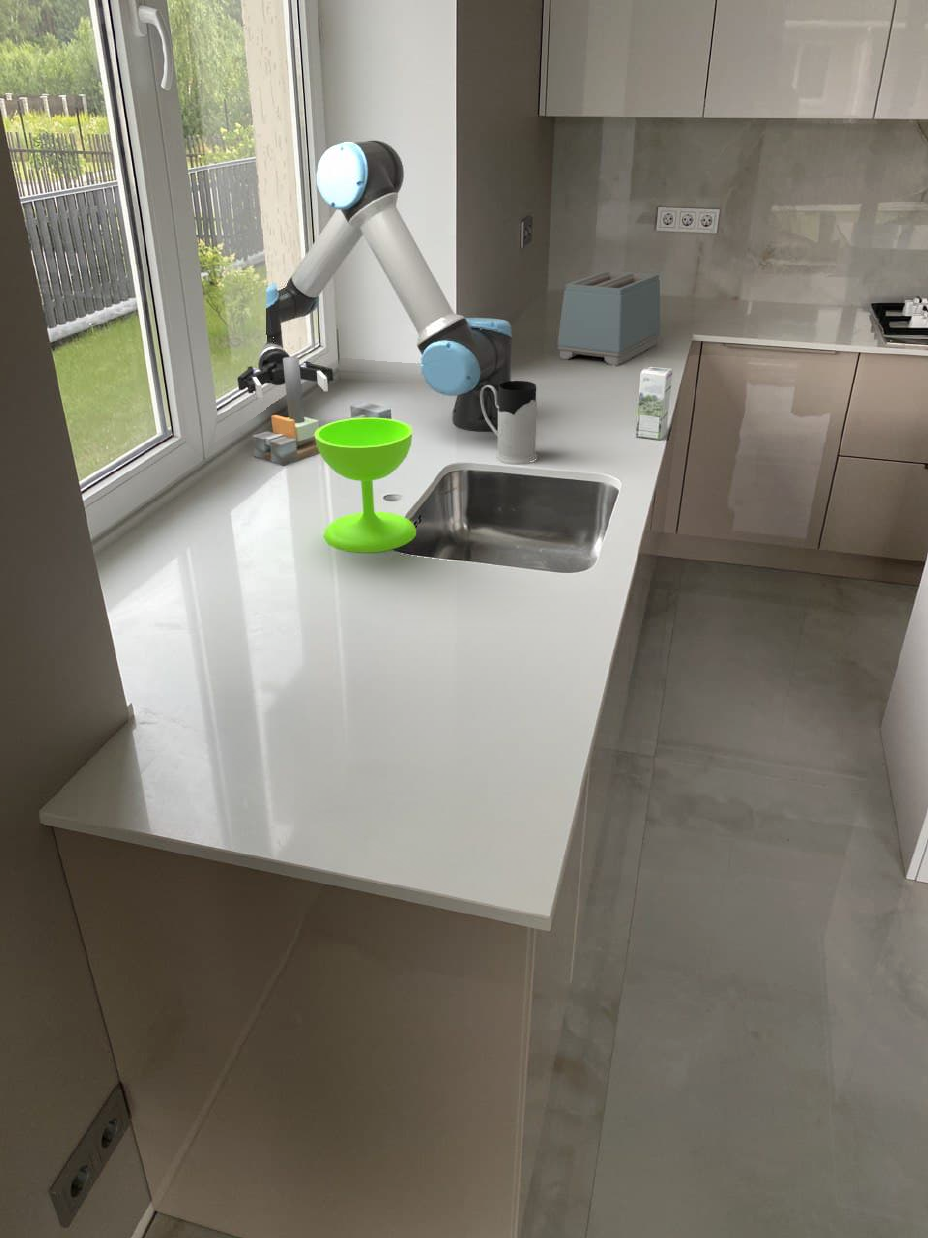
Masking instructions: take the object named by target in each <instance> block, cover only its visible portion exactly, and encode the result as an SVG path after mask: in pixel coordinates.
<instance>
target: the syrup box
mask: <svg viewBox="0 0 928 1238" xmlns="http://www.w3.org/2000/svg"><path fill="white" fill-rule="evenodd" d="M639 376H640V377H639V388H638V390H639V391H638V401H637V415H636V417H637V418H636V427H635V438H639V439H646V440H647V439H648V440H657V441H661V440H663V438H664V437H665V436H666V434H667V432H668V419H669V407H670V400H671V399H670V397H671V387H672V381H673V380H672V377H673V369H672V368H667V367H666V368H664V367H657V366H656V367H655V366H654V367H653V366H646V367H644V368H643V369H642V371H640V375H639Z"/></svg>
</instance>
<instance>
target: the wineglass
mask: <svg viewBox="0 0 928 1238" xmlns="http://www.w3.org/2000/svg"><path fill="white" fill-rule="evenodd" d="M314 435H315V440H316V444H317V448H318V450H319V452H320V453H319V454H320V456H321V457H322V459H323V462H324V463H326V465H328V467H329V468H330V469H331V470H333V471H334V472H335V473H337V474H338V475H341V476H342V477H344V478H345V479H349V480H353V481H357V482H358V481H359V482H360V484H361V500H362V501H361V502H362V511H361V512H355V513H351V514H347V515H344V516H341V517H339V518H337V519H335V520H333V521H331V523H329V524H328V526H326V528H325V529H324V533H323V539H324V541H325V543H326V544H328V545H329V546H331V547H332V548H334V549H338V550H340V551H345V552H351V553H364V554H365V553H367V554H368V553H377V552H378V553H379V552H386V551H390V550H396V549H398V548H400V547H402V546H405V545H407V544H408V543H410V542H411V541H413V540H414V538H415V537H416V536H417V528H416V527H415V525H414V523H413V522H412V521H411V520H409V519H408V518H406V517H405V516H403V515H400V514H397V513H391V512H388V511H387V512H385V511H375V500H374V485H373V482H374V481H375V480H380V479H383V478H385V477H387V476H389V475H390V474H392V473H393V472H394V471H396V470H397V469H398V468H399V467H400V466H401V465H402V463H403V462H404V460H405V459H406V458H407V456H408V454H409V451H410V448H411V446H412V438H413V437H412V436H413V428H412V426H410V425H409V424H407V423H406V422H403V421H401V420H397V419H393V418H391V419H387V418H353V419H350V418H348V419H347V418H346V419H341V420H340V419H339V420H336V421H333V422H329V423H326V424H324V425H322V426H319V429H317V430H316V432H315V434H314Z"/></svg>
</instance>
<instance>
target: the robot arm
mask: <svg viewBox="0 0 928 1238" xmlns="http://www.w3.org/2000/svg"><path fill="white" fill-rule="evenodd" d="M404 179H405V172H404V165H403V161H402V159H401V157H400V156H399V154H398V152H397V151H396V150H395V149H394V148H393V147H392V146H391V145H390V144H389V143H386V142H384V141H379V140H367V141H357V142H355V141H354V142H352V141H345V142H341V143H339V144H335V145H333V146H331V147H329V148H328V149H326V151H325V152H324V153H323V154H322V155H321V157H320V160H319V162H318V165H317V172H316V184H317V188H318V191H319V193H320V196H321V198H322V199H323V201H325V202H326V204H327V205H329V206H330V207H332V208H334V209H336V210H335V212H334V213H332V215H331V216H330V219H329V220H328V222H327V224H326V225H325V226H324V228H323V229H322V230H321V232H320V233H319V235H318V237H316V239H315V241H314V242H313V244H312V245H311V247H310V248H309V249H308V252H306V254H305V256H304V257H303V258H302V260H301V261H300V263H299V265H298V266H297V267H296V268H295V270H294V272H293V273H292V275H291V276H290V278H289V279H288V281H287V282H288V283H287V282H286V283H287V286H286V287H285V288H283V289H281V290H279V291H278V290H277V288H278V287H277V285H276V284H274V283H272V285H270V286H268V287H267V289H266V335H267V343H266V344H265V345H264V346H263V348H262V349H261V351H260V353H259V356H258V369H259V370H258V369H257V367H254V366H248V367H247V369H246V370H245V371H243V373H240V375H239V376H237V379H236V380H237V385H238V390H239V391H243V390H245V389H246V388H247V393H248V394H254V393H255V394H256V396H257V397H258V399H263V398H264V397H263V388H262V386H263V385H265V384H271V385H275V386H280V385H285V375H284V365H283V358H286V357H291V356H290V354H289V353H288V352H287V351H286V350H285V349H284V344H283V334H282V333H283V330H282V324H283V323H286V322H288V321H291V320H295V319H299V318H303V317H306V316H308V315H310V314H311V313H313V312H315V311H316V310H317V308H318V307H319V302H320V295H321V293H322V292H323V291H324V288H326V286H327V285H328V283H329V282H330V281H331V280H332V278H333V277H334V275H335V274H336V272H337V271H338V270H339V269H340V267H341V266H342V264H343V263H344V261H345V260H346V259H347V257H348V256H349V254H350V253H351V252H352V250H353V249H354V248H355V247H356V245H357V243H358V242H359V241H360V239H361V237H362V236H363V237H364V239H365V240H366V242H367V244H368V246H369V247H370V249H371V251H372V253H373V255H374V257H375V258H376V260H377V261H378V264H379V265H380V267H381V269H382V271H383V272H384V275H385V276H386V278H387V280H388V282H389V283H390V285H391V287H392V289H393V291H394V293H395V295H396V296H397V298H398V299H399V301H400V303H401V305H402V306H403V309H404V310H405V312H406V314H407V316H408V317H409V319H410V321H411V323H412V325H413V327H414V328H415V330H416V332H417V333H418V338H417V340H416V341H417V342H416V347H417V349H418V350H419V352H420V353H421V358H420V361H421V362H420V365H419V366H420V371H421V375H422V377H423V379H424V381H425V382H426V384H427V385H428V386H429V387H430V388H431V390H433V391H435V392H436V393H438V394H440V395H444V396H449V397H456V399H455V403H454V408H453V410H452V413H451V414H452V415H451V416H452V424H453V425H454V426H456V427H457V428H461V429H463V430H469V431H476V432H489V431H490V432H491V431H492V432H493V430H492V429H491V427H490V426H489V425H488V423H487V421H486V420H485V417H484V415H483V412H482V408H481V403H480V392H481V389H482V388H483V387H484V386H486V385H491V386H493V387H494V388H495V390H496V391H497V395H498V404H499V385H500V384H501V383H504V382H509V381H512V346H513V345H512V339H513V335H512V326H511V324H510V322H509V321H507V320H504V319H497V318H485V317H465V316H463V315H460V314H457V313H455V312H454V310H453V308H452V307H451V305H450V303H449V301H448V299H447V298H446V296H445V294H444V292H443V290H442V289H441V286H440V285H439V283H438V281H437V279H436V278H435V276H434V274H433V272H432V271H431V268H430V267H429V265H428V263H427V260H426V259H425V257H424V256H423V254H422V252H421V250H420V248H419V246H418V244H417V243H416V241H415V239H414V237H413V235H412V233H411V232H410V229H409V228H408V226H407V224H406V222H405V220H404V219H403V217H402V215H401V213H400V211H399V210H398V208H397V202H398V198H399V193H400V191H401V188H402V187H403V183H404ZM273 337H274V338H273ZM299 366H300V377H301V381H302V380H304V381H309V382H316V383H317V384H318V386H319V387H320V388H321V389H322V391H323V392H328V391H329V388H328V387H329V383H330V382H333V381H334V372H333V368H330V367H328V366H323V365H319V364H315V363H313V362H311V361H308V360H306V361H304V362H303V365H301V364H300V363H299ZM483 403H484V408H485V411H486V414H487V416H488V419H489V420H490V422H491V424H492V425H493V427H494V428H495V429H496V430H497V431H498V410H499V409H498V408H497V407H496V405H495V395H494V392H493V391H492V389H491V388H489V387H486V388H485V389H484V391H483Z"/></svg>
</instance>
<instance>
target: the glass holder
mask: <svg viewBox="0 0 928 1238" xmlns="http://www.w3.org/2000/svg"><path fill="white" fill-rule="evenodd" d="M486 387H489V388H491V389H492V391H493V392H494V395H495V405H496V407H497V408H498V409H499V410H498V430H496V429H495V428H494V427H493V425H492V424H491V422H490V420H489V419H488V416H487V414H486V411H485V408H484V403H483V391H484V389H485V388H486ZM480 403H481V408H482V412H483V415H484V417H485V420H486V421H487V423H488V425H489V426H490V427H491V429H492V430H493V431H492V432H493V433H494V435H495V436H496V437H497V450H496V451H497V452H496V454H495V457H496V458H495V460H496V459H497V460H496V461H497V462H499V461H500V463H502V464H505V465H506V464H508V465H525V464H524V463H528V462H530V461H533V460H535V459H536V458H537V457H538V454H537V451H536V450H537V449H536V448H537V447H536V446H537V445H536V443H537V439H536V438H537V411H538V410H537V405H538V404H537V385H536V383H533V382H530V381H526V380H525V381H524V380H511V381H509V382H504V383H501V384H500V385H499V404H498V395H497V391H496V390H495V388H494V387H493V386H491V385H486V386H484V387H483V388H482V389H481V392H480ZM537 459H538V458H537ZM528 464H529V463H528Z"/></svg>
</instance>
